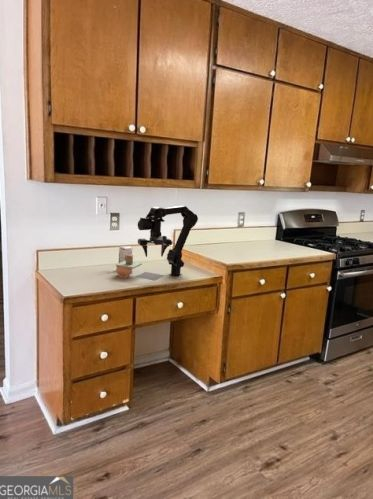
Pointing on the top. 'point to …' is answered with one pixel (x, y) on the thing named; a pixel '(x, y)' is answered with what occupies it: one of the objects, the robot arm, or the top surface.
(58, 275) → the top surface
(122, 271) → the bowl
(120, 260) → the syrup box
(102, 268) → the top surface
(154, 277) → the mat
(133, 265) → the lid
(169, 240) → the robot arm
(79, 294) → the top surface
